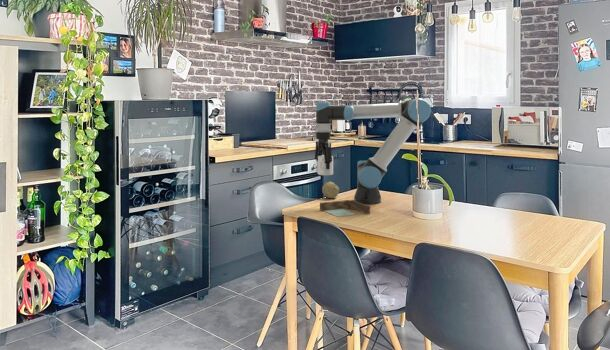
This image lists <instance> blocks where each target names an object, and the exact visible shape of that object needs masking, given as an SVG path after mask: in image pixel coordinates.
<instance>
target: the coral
mask: <svg viewBox="0 0 610 350" xmlns="http://www.w3.org/2000/svg"><path fill="white" fill-rule="evenodd" d="M321 190H322V194H323V195H324V196H325V197H326V198H328V199H336V198H337V197H338V195H339V192H340V187H338V185H337V184H335V182H332V181H327V182H326V183H324V184H323V185H322V187H321Z"/></svg>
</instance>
